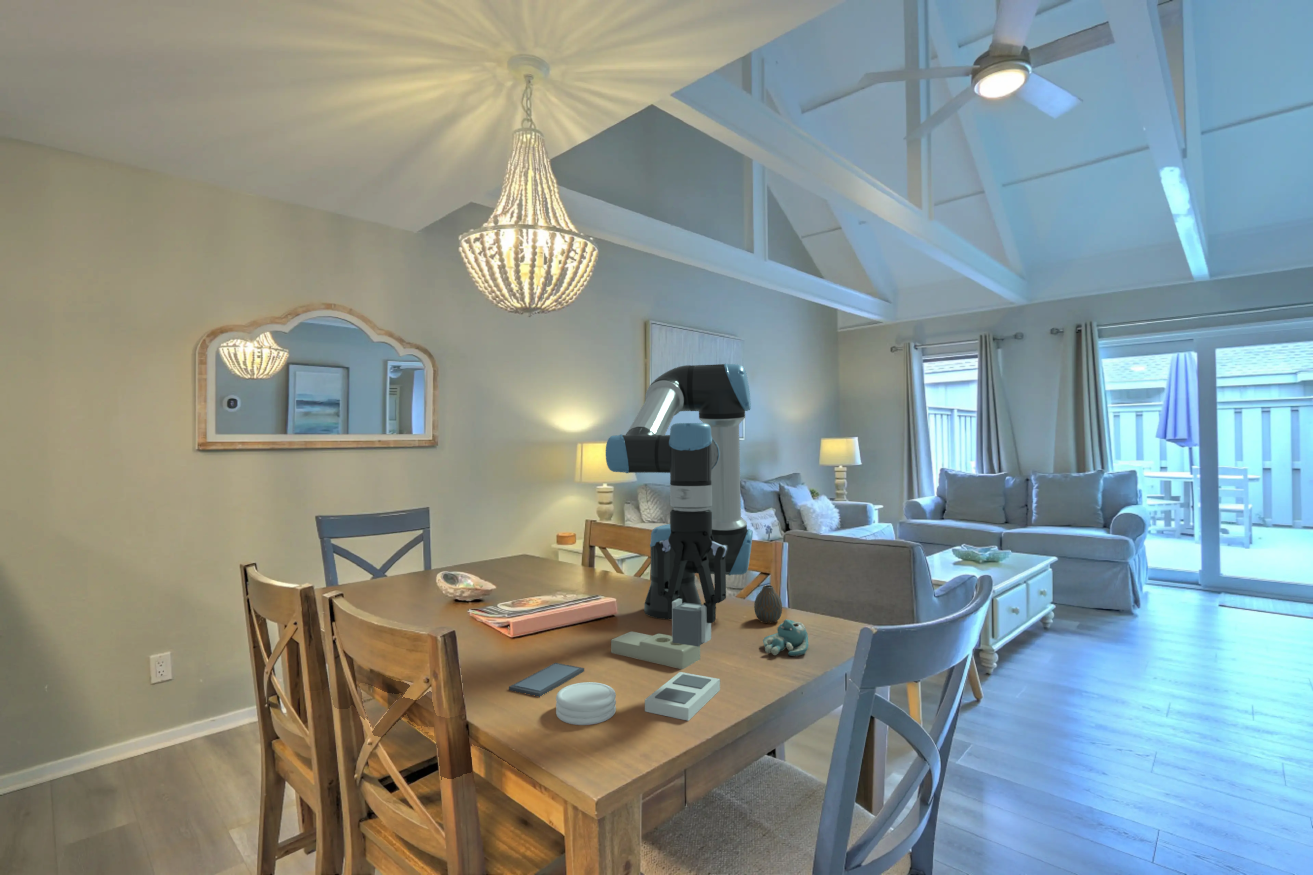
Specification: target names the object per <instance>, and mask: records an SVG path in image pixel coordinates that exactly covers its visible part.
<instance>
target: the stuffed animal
mask: <svg viewBox="0 0 1313 875" xmlns="http://www.w3.org/2000/svg"><path fill="white" fill-rule="evenodd" d="M762 644H763V646H764V650H765V653H767V654H770V653H771V654H772V655H773V656H777V655H779V653H780V652H782V651H784V650H785V649H787V650H788V651H787V654H788V656H790V657H791V656H793V657H798V656H799V657H800V656H802V655H805V654H806V653H807V651H808V648H809V646H810V645H809V636H808V632H807V629H806V627H805V625H804V624H803V623H802V622H800V621H794V620H792V619H784V620H783V622H782V623H781V624H779V625H778V627H777V633H774V634H771V635H770V634H769V635H768V636H767V635H766V636H764V638H763V639H762Z"/></svg>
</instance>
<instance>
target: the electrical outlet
mask: <svg viewBox="0 0 1313 875" xmlns="http://www.w3.org/2000/svg"><path fill="white" fill-rule="evenodd" d="M610 643H611V644H610V645H611V646H610V650H611V651H610V653H611V654H615V655H619V656H622V657H628V658H632V659H636V660H639V661H640V660H641V661H645V662H649V663H652V664H658V665H661V666H667V667H669V668H675V669H679V670H685V669H687V668H688V667H690V666H691V665H693V664H695V663H696V661H697V662H698V661H701V645H700V646H699V647H698V646H691V645H685V644H679V643H673V638H672V635H669V634H664V633H656V634H654V635H651V634H645V633H642V632H636V631H629V632H627V633H624V634H622V635H619V636H617V637H614V638H613V639H611V640H610Z"/></svg>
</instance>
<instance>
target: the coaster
mask: <svg viewBox="0 0 1313 875" xmlns="http://www.w3.org/2000/svg"><path fill="white" fill-rule="evenodd" d="M616 695H617V694H616V691H615V689H614V688H612V686H609V685H607V684H605V683H600V682H595V681H593V682H592V681H591V682H589V681H588V682H587V681H586V682H578V683H577V682H576V683H573V684H569V685H567V686H565V687H562V688H561V689H560V690H559V691H558V692H557V693H556V696H555V702H556V703H555V707H556V709H555V714H556V717H557V718H558V719H559V721H561V722H563V723H566V724H570V725H576V726H589V725H597V724H601V723H603V722H605V721H608V720H610V719H611V718H613V716H614V715H615V713H616V710H617V707H616V704H617V701H616Z"/></svg>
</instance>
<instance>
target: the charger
mask: <svg viewBox="0 0 1313 875" xmlns="http://www.w3.org/2000/svg"><path fill="white" fill-rule="evenodd" d="M673 643H679V644H685V645H691V646H698V647H699V646H700V647H701V646H702V645H703V644H704V643H702V637H701V605H700V604H692V603H682V604H681V605H679V606H677V607H675V608H673Z"/></svg>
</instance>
